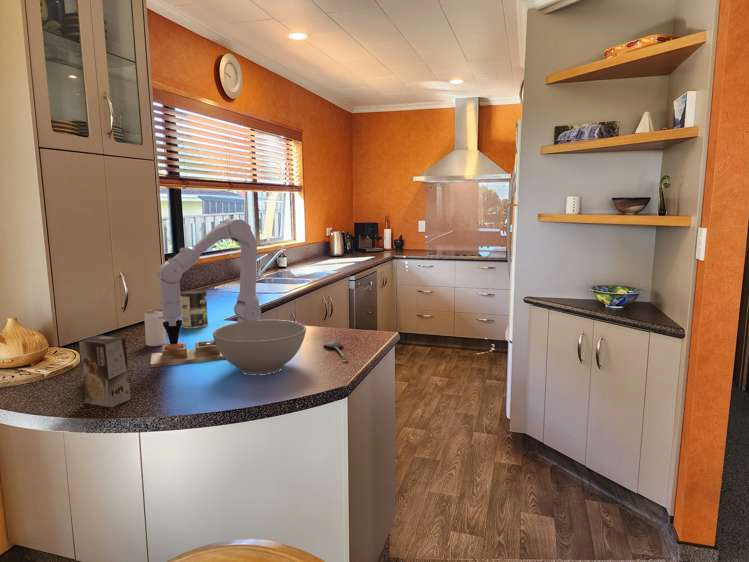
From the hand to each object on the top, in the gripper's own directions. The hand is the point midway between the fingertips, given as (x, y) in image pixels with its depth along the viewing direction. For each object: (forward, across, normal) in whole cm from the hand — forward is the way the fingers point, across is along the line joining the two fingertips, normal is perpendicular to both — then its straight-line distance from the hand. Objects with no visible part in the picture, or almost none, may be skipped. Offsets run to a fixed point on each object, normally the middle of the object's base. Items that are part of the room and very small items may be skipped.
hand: (173, 343), depth 164 cm
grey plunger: (+4, 0, +10) cm, 11 cm away
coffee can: (+5, -47, +8) cm, 48 cm away
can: (+5, -22, -6) cm, 23 cm away
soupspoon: (+6, +14, +50) cm, 52 cm away
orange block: (+3, 0, 0) cm, 3 cm away
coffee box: (+5, +32, -16) cm, 36 cm away
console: (+5, 0, +5) cm, 7 cm away
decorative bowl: (+5, +21, +24) cm, 32 cm away
